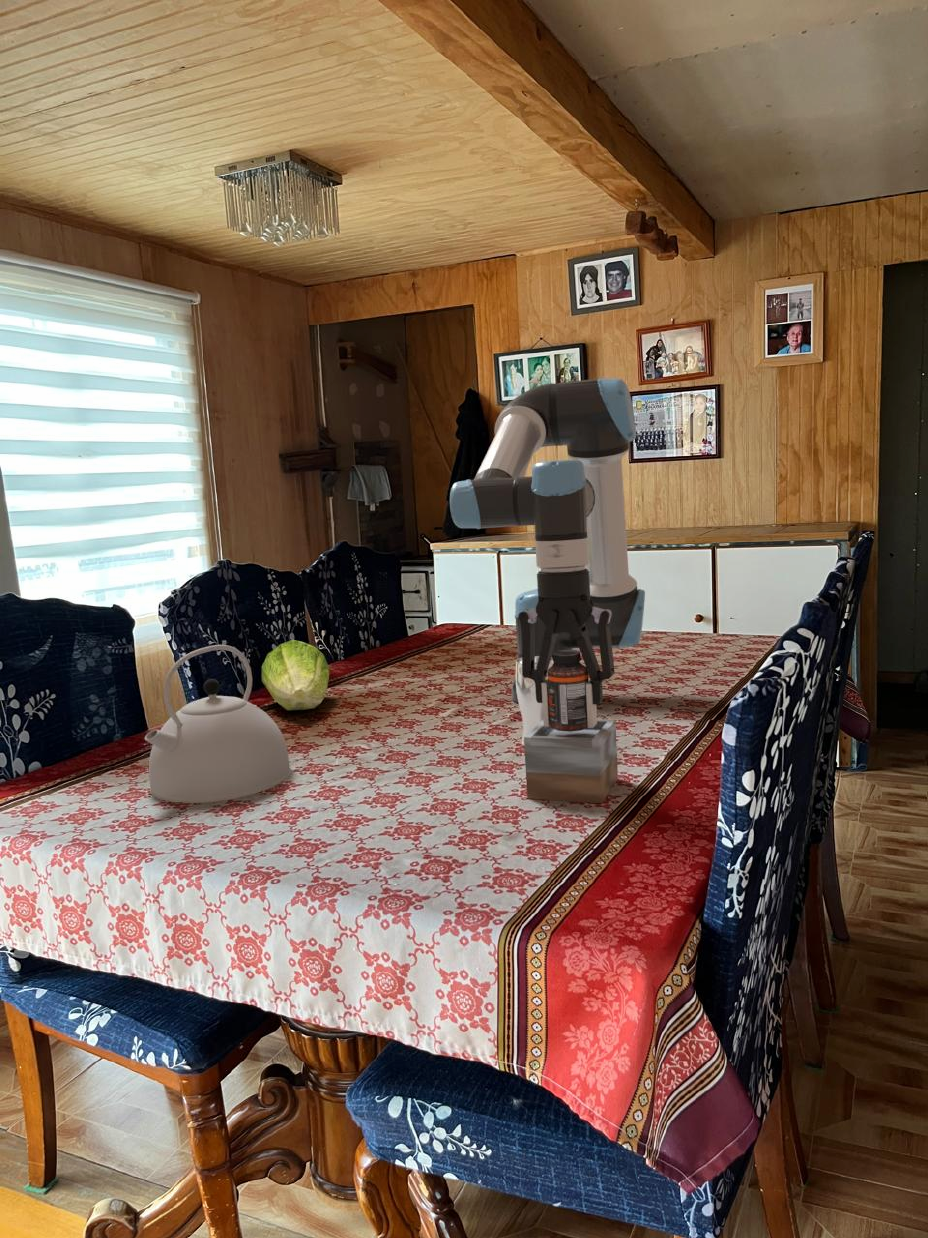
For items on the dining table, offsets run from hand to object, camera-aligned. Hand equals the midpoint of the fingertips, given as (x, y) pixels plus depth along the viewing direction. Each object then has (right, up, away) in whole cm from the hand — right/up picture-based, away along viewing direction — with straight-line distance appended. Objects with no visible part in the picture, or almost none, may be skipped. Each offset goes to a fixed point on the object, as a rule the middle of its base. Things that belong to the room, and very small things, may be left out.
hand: (570, 724), depth 138 cm
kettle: (-57, -12, +17) cm, 60 cm away
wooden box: (+1, -10, +1) cm, 10 cm away
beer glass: (-3, -6, +26) cm, 27 cm away
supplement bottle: (0, -1, 0) cm, 1 cm away
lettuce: (-51, -4, +63) cm, 82 cm away
